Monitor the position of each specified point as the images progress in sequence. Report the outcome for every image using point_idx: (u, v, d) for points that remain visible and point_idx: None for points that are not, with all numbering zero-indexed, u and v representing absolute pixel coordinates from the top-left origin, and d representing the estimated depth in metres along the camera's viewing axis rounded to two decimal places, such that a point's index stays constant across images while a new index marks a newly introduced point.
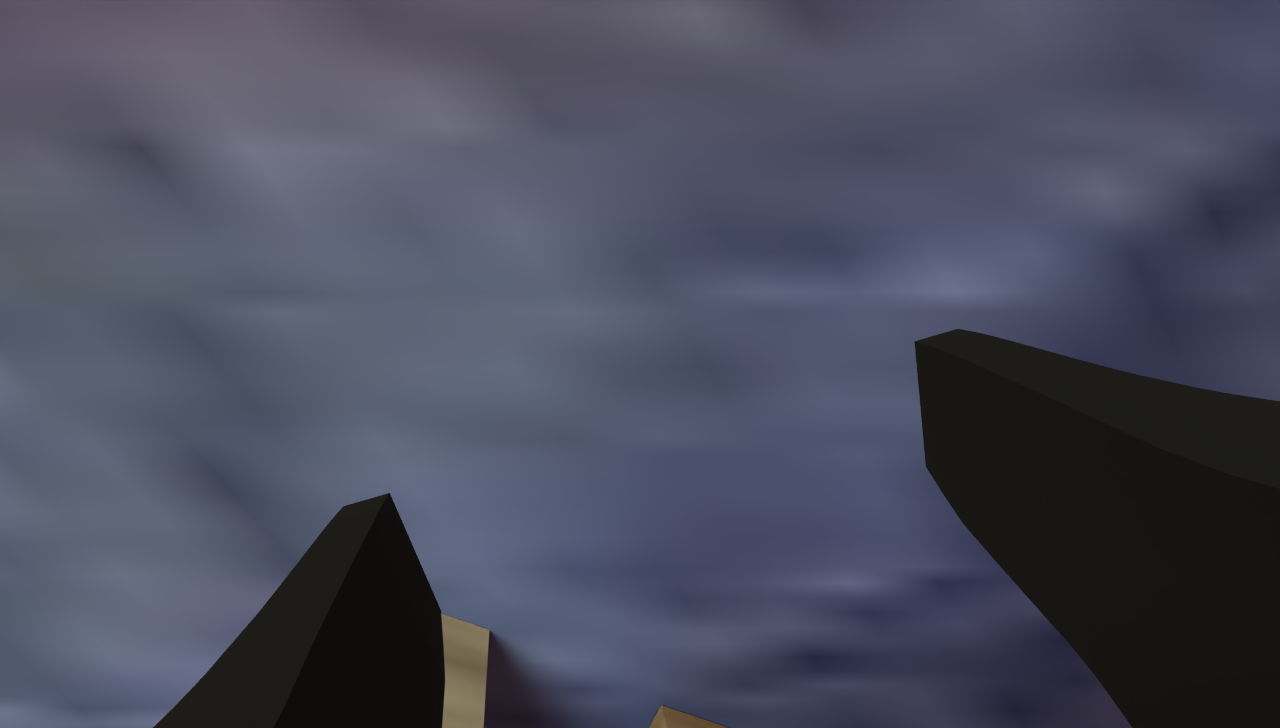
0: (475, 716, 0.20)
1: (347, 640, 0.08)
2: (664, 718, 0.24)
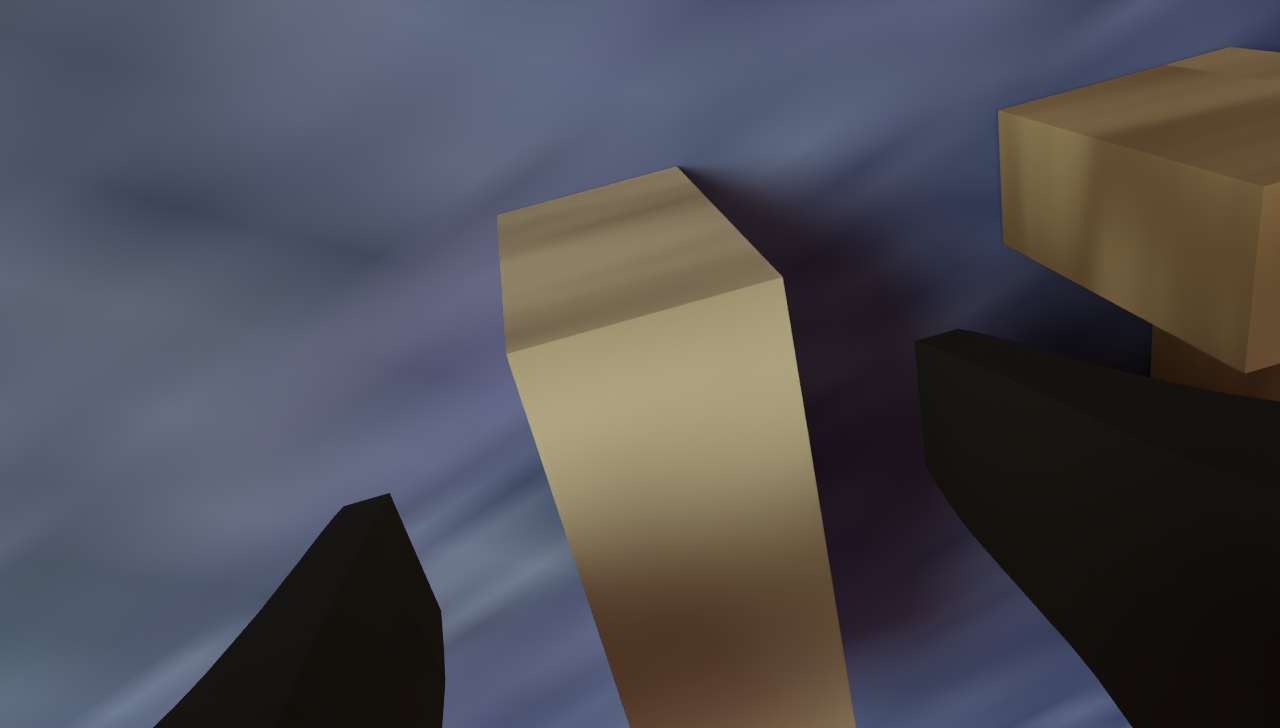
0: (721, 233, 0.11)
1: (346, 639, 0.08)
2: (1017, 116, 0.14)
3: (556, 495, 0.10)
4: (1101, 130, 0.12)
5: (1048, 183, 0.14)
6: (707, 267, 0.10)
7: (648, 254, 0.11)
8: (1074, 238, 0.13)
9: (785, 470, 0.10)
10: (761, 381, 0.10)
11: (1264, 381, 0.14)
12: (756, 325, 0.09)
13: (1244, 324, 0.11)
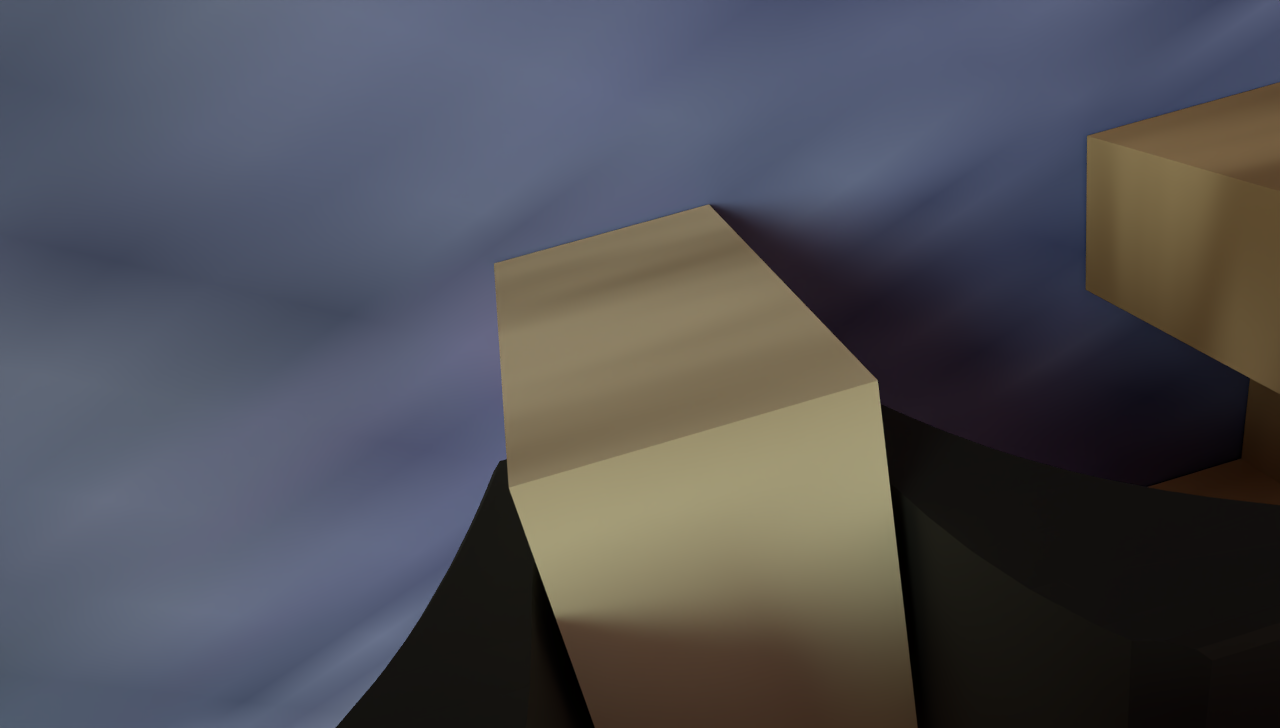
0: (780, 305, 0.08)
1: None
2: (1114, 143, 0.12)
3: (574, 657, 0.07)
4: (1232, 167, 0.10)
5: (1154, 225, 0.11)
6: (770, 359, 0.08)
7: (686, 332, 0.08)
8: (1188, 292, 0.11)
9: (868, 616, 0.08)
10: (843, 510, 0.07)
11: None
12: (840, 442, 0.07)
13: None
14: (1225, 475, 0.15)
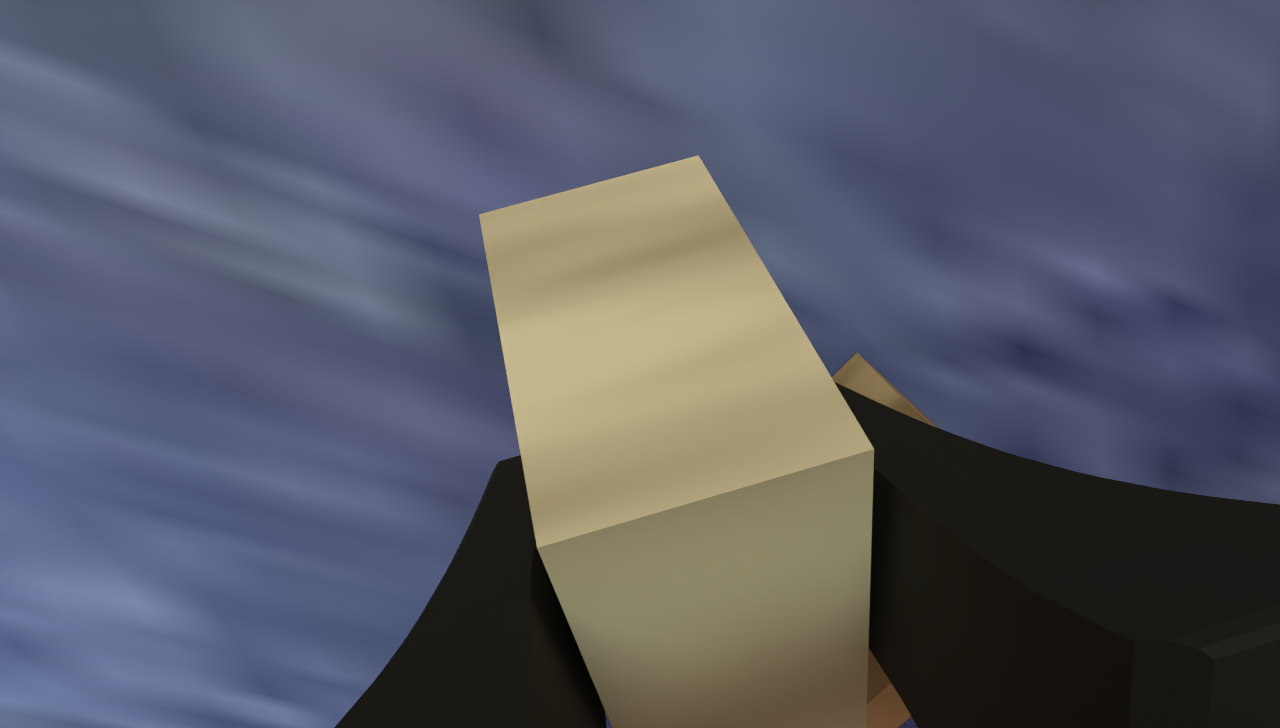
0: (779, 328, 0.09)
1: (545, 580, 0.09)
2: (866, 362, 0.21)
3: (585, 655, 0.09)
4: (904, 400, 0.20)
5: None
6: (773, 405, 0.08)
7: (689, 354, 0.09)
8: None
9: (839, 607, 0.09)
10: (828, 540, 0.08)
11: None
12: (834, 494, 0.08)
13: None
14: None
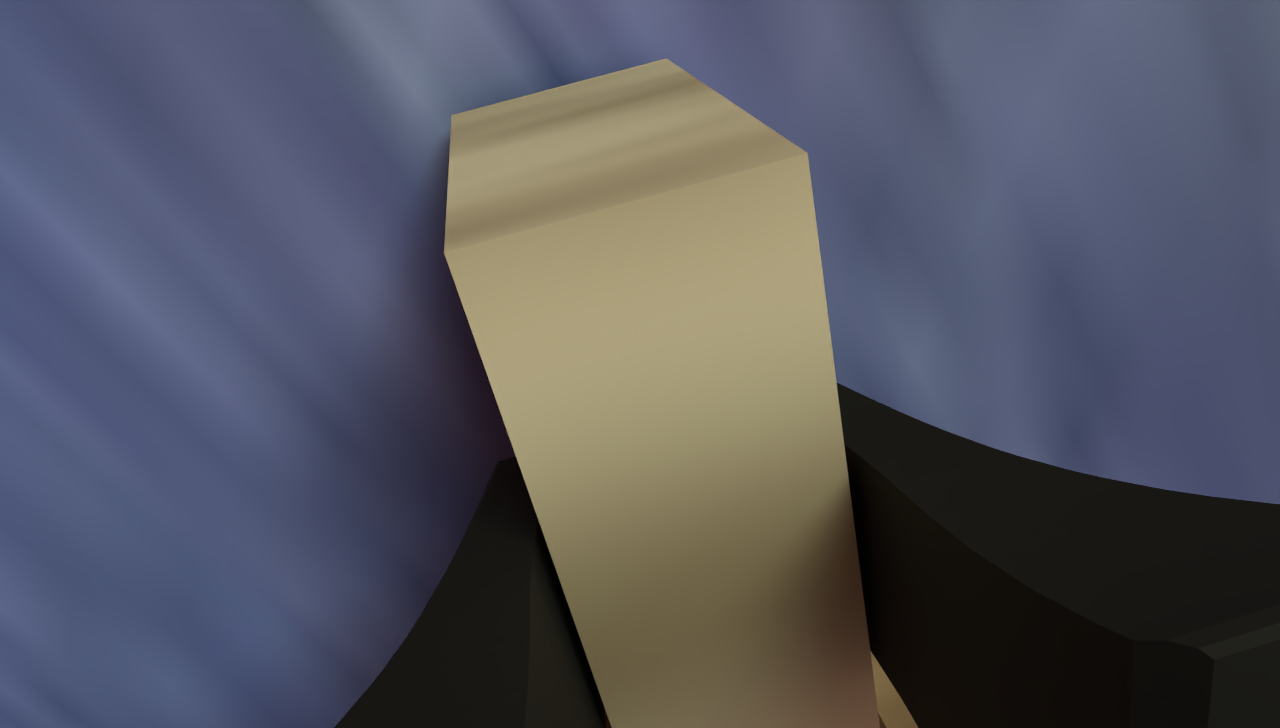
0: (723, 115, 0.09)
1: (545, 580, 0.09)
2: None
3: (514, 441, 0.08)
4: None
5: None
6: (708, 149, 0.08)
7: (630, 140, 0.08)
8: None
9: (804, 410, 0.08)
10: (776, 294, 0.07)
11: None
12: (771, 219, 0.07)
13: None
14: None
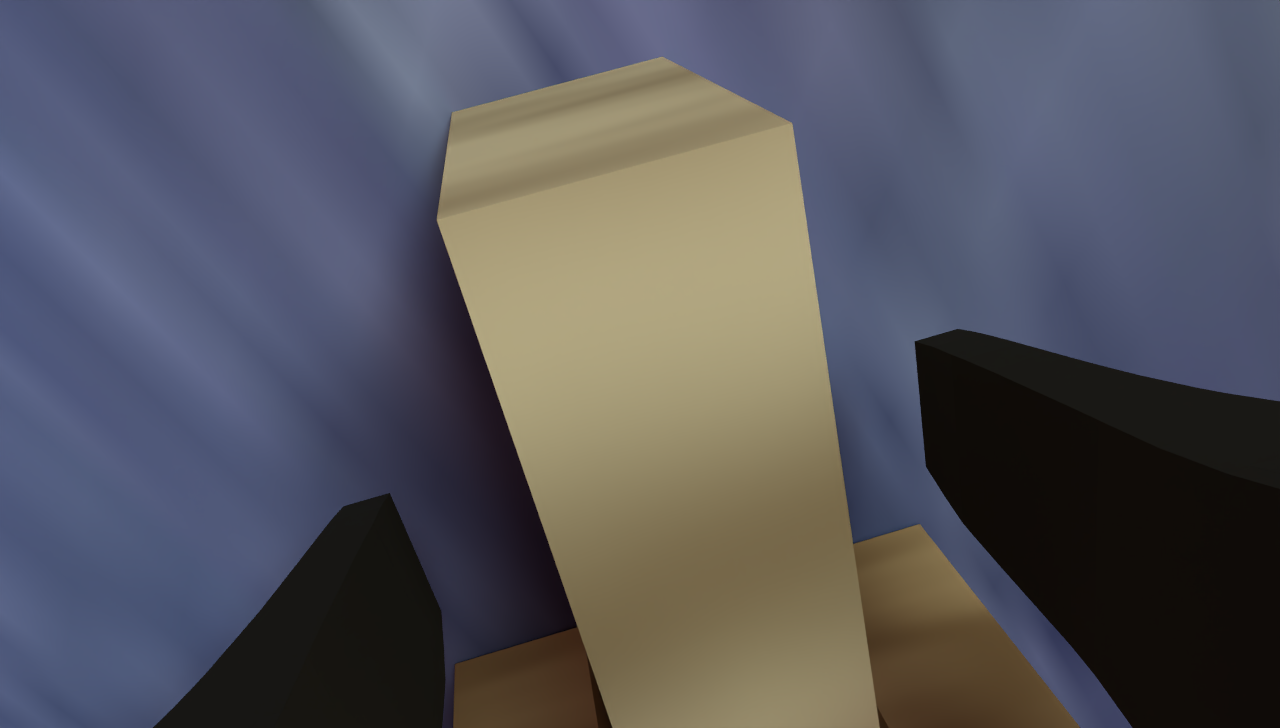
0: (713, 98, 0.09)
1: (347, 639, 0.08)
2: (933, 542, 0.16)
3: (507, 411, 0.08)
4: (985, 618, 0.14)
5: (906, 587, 0.15)
6: (696, 125, 0.08)
7: (622, 122, 0.09)
8: (883, 625, 0.14)
9: (794, 383, 0.08)
10: (764, 264, 0.08)
11: None
12: (758, 188, 0.07)
13: None
14: None
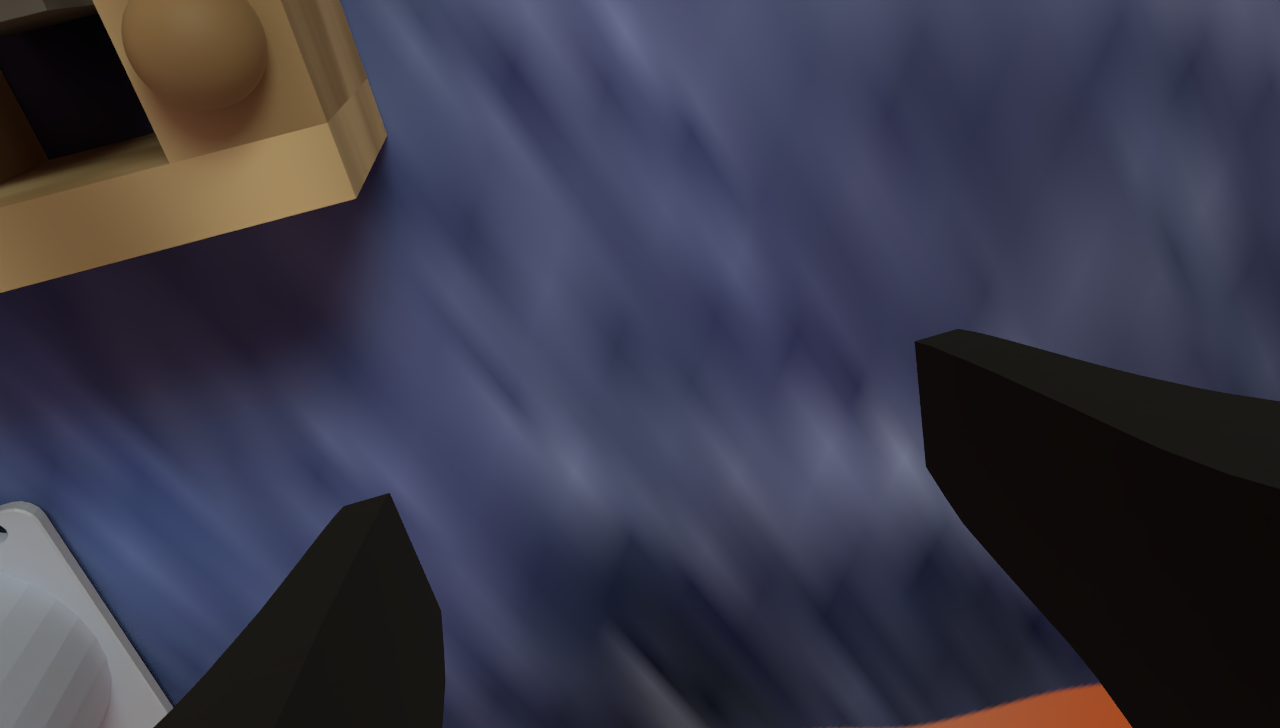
0: None
1: (347, 639, 0.08)
2: None
3: None
4: None
5: None
6: None
7: None
8: None
9: None
10: None
11: (79, 166, 0.15)
12: None
13: None
14: (28, 136, 0.17)
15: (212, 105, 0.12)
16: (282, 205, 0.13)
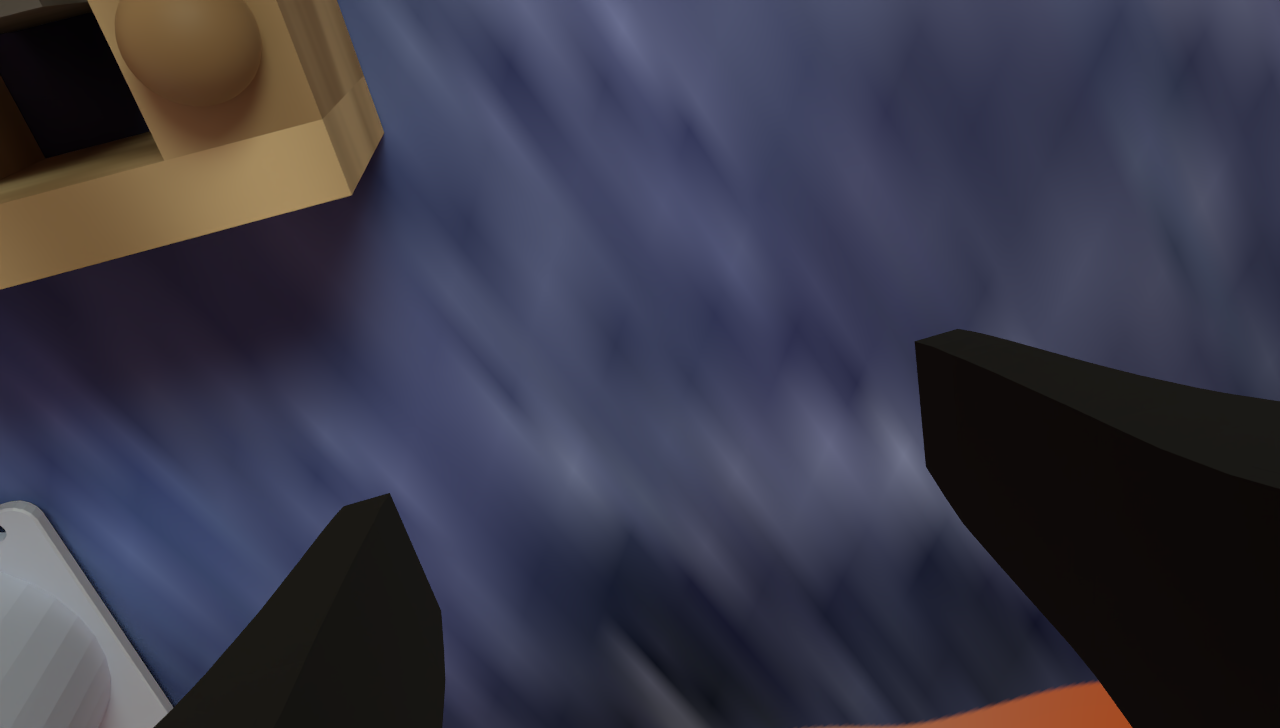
0: None
1: (346, 639, 0.08)
2: None
3: None
4: None
5: None
6: None
7: None
8: None
9: None
10: None
11: (75, 164, 0.15)
12: None
13: None
14: (24, 134, 0.17)
15: (206, 102, 0.12)
16: (277, 202, 0.13)
